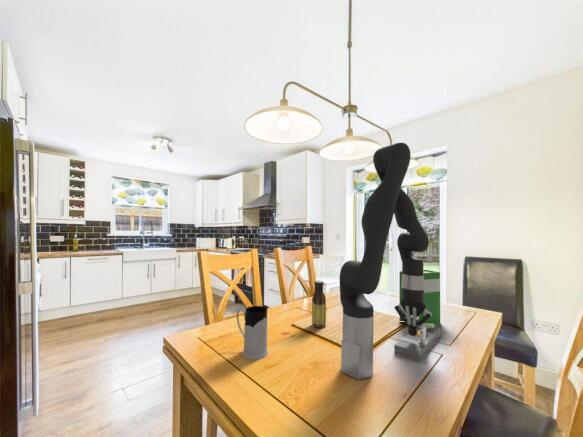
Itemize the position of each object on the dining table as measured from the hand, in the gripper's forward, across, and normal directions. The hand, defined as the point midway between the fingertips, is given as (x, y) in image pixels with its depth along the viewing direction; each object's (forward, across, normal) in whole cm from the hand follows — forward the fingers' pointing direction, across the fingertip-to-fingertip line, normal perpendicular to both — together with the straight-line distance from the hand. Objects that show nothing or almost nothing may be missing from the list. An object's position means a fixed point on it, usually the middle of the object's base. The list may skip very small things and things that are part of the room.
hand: (412, 335), depth 91 cm
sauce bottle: (+6, -38, -6) cm, 39 cm away
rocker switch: (+1, 0, +17) cm, 17 cm away
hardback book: (+6, -7, +32) cm, 33 cm away
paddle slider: (+2, +3, 0) cm, 4 cm away
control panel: (+6, 0, +7) cm, 9 cm away
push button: (+3, 0, +9) cm, 10 cm away
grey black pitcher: (+6, -41, -42) cm, 59 cm away
